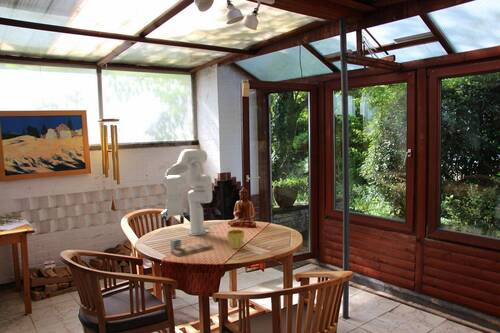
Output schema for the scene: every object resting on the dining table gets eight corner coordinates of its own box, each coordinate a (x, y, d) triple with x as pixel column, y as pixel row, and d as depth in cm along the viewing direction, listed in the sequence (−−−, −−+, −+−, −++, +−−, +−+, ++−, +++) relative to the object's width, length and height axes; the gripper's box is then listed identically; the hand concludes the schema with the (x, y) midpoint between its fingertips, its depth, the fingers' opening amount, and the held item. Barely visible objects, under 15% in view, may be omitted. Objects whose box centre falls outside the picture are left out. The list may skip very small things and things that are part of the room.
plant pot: (238, 250, 247) (238, 234, 247) (224, 248, 253) (224, 232, 252) (247, 245, 256) (247, 230, 255) (234, 244, 262) (233, 229, 261)
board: (205, 245, 260) (205, 242, 260) (213, 248, 253) (212, 245, 253) (171, 253, 246) (171, 249, 246) (177, 256, 239) (177, 252, 239)
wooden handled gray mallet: (178, 249, 254) (177, 238, 254) (188, 253, 244) (187, 242, 243) (171, 251, 251) (170, 239, 251) (180, 255, 241) (180, 243, 240)
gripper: (183, 194, 257) (184, 221, 258) (157, 198, 247) (159, 226, 248) (188, 196, 251) (190, 223, 252) (162, 199, 241) (164, 228, 242)
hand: (174, 224), depth 250 cm, fingers open, 9 cm apart
